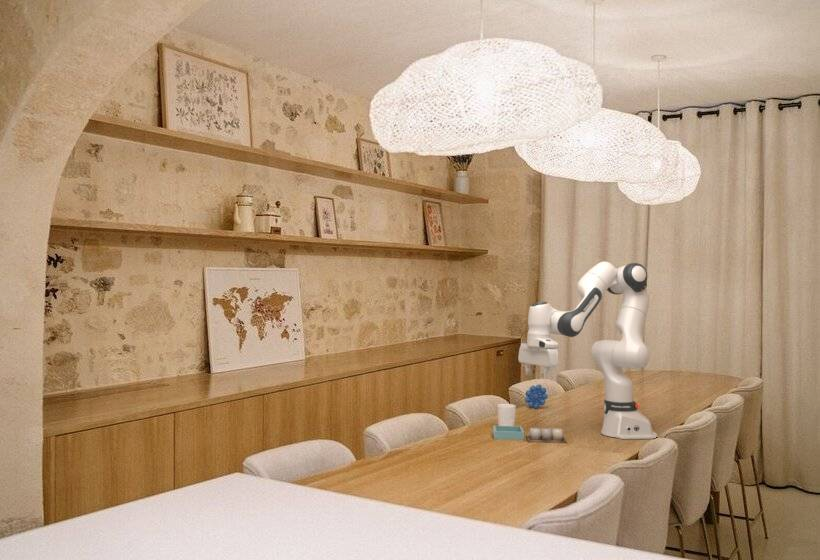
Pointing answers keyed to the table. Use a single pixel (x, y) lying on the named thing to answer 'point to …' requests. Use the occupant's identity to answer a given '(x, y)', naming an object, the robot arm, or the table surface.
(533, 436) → the pebble
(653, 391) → the table surface
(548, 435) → the pebble
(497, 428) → the teal square bin
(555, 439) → the pebble
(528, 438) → the tray
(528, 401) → the grapes
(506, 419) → the white cup
